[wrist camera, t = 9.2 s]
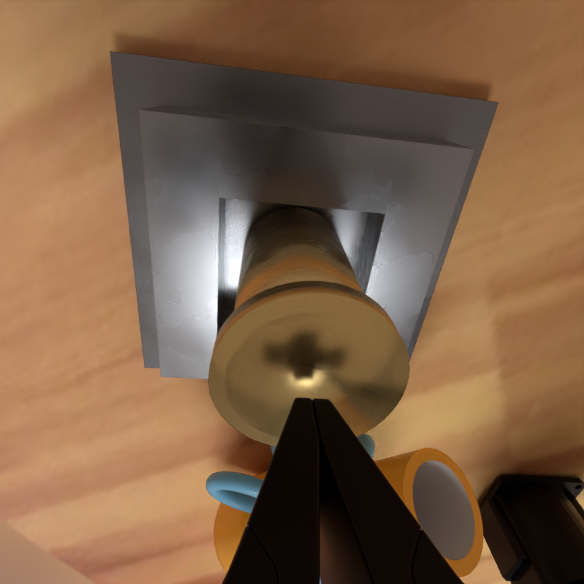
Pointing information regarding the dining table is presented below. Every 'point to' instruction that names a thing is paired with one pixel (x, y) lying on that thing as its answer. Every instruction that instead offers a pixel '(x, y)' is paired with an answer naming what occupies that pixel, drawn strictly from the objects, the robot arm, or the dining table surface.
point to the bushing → (303, 333)
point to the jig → (282, 187)
